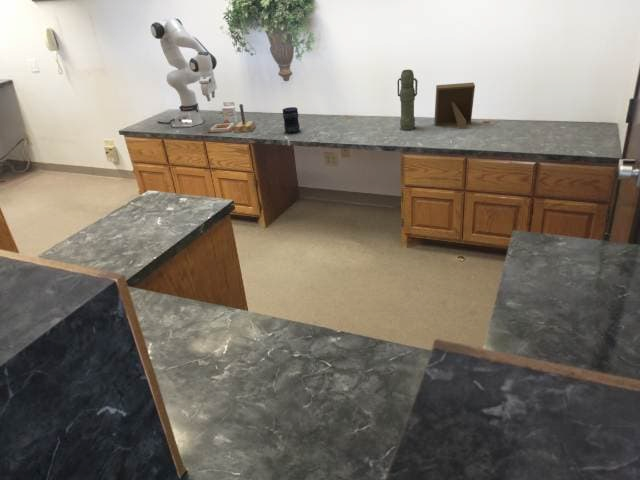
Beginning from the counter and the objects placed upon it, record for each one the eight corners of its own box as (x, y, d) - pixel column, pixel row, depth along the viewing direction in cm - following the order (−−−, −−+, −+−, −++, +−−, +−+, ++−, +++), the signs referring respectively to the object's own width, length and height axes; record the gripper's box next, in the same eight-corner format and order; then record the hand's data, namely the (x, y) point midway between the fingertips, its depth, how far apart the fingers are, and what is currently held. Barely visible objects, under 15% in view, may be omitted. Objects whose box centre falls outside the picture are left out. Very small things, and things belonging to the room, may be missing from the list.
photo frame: (434, 123, 320) (435, 83, 308) (469, 121, 318) (471, 80, 306) (437, 130, 307) (438, 88, 295) (474, 128, 305) (476, 85, 293)
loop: (210, 132, 348) (209, 129, 347) (216, 126, 360) (215, 124, 359) (229, 131, 346) (228, 128, 345) (234, 125, 358) (234, 123, 357)
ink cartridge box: (224, 124, 364) (220, 103, 357) (226, 122, 369) (222, 102, 362) (236, 123, 363) (232, 103, 356) (237, 122, 367) (234, 101, 361)
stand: (234, 132, 343) (229, 106, 335) (238, 127, 353) (234, 102, 345) (251, 131, 341) (247, 105, 333) (255, 126, 352) (251, 101, 343)
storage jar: (291, 129, 338) (289, 106, 331) (303, 130, 332) (300, 107, 325) (281, 133, 331) (279, 110, 324) (293, 134, 326) (290, 111, 319)
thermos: (416, 130, 311) (416, 71, 295) (397, 130, 314) (396, 72, 298) (417, 126, 319) (418, 68, 302) (399, 126, 322) (398, 69, 305)
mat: (208, 132, 348) (208, 132, 348) (214, 127, 360) (214, 126, 360) (231, 131, 346) (231, 131, 346) (236, 125, 358) (236, 125, 358)
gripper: (208, 75, 344) (211, 95, 351) (198, 81, 326) (202, 103, 333) (216, 74, 343) (220, 95, 350) (207, 81, 325) (211, 102, 332)
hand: (211, 99), depth 341 cm, fingers open, 8 cm apart
